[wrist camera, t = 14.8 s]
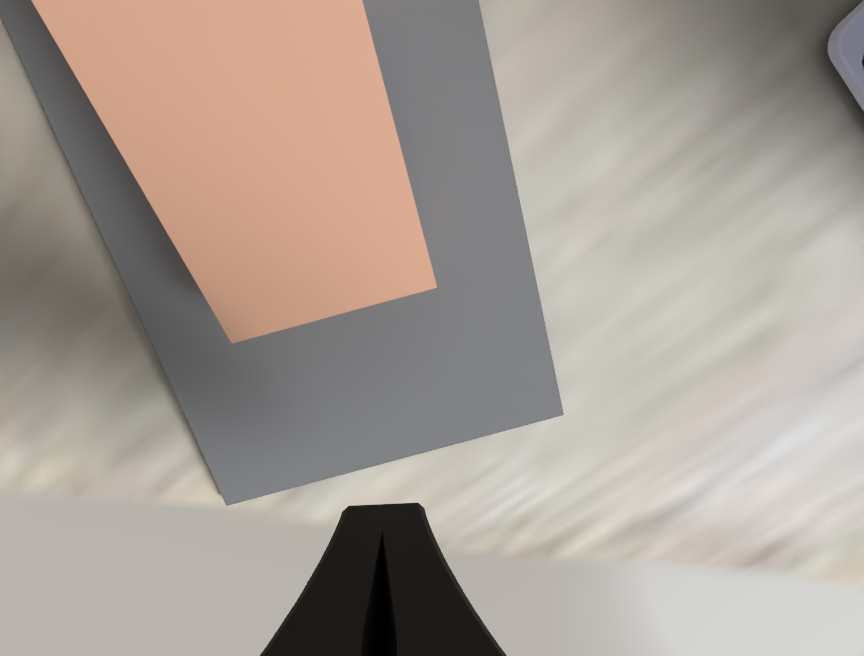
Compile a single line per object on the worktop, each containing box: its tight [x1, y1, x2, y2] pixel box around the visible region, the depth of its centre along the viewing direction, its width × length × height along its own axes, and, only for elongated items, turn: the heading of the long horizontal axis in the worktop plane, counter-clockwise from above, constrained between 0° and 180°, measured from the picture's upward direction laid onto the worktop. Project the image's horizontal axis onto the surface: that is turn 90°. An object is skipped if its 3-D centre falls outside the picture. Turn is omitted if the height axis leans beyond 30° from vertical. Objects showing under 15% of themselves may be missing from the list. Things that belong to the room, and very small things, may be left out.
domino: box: [31, 0, 437, 343], centre depth 10 cm, size 2×4×8 cm
